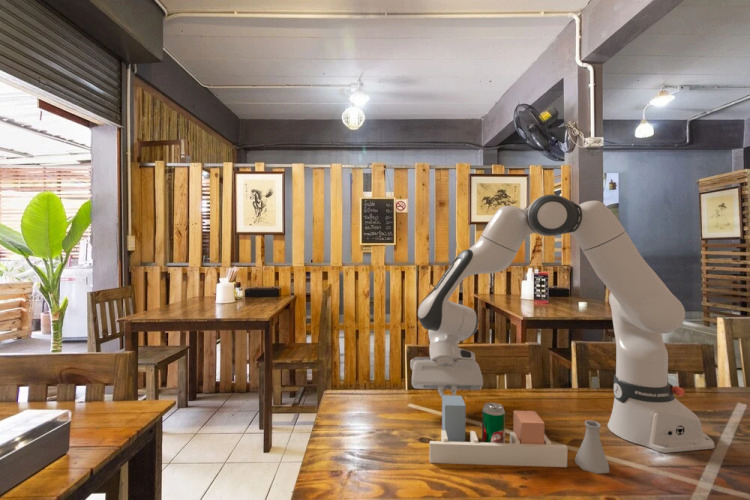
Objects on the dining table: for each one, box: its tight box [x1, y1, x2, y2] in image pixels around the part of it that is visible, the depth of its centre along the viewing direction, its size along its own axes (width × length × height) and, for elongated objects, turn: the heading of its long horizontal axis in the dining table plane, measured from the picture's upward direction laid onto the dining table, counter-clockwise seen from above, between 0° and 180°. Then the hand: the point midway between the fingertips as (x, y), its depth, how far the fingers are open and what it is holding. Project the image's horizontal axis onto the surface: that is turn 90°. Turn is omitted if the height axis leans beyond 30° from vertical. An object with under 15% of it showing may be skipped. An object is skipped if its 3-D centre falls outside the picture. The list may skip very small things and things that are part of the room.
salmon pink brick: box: [512, 410, 545, 444], centre depth 90 cm, size 5×7×9 cm
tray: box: [429, 429, 568, 468], centre depth 94 cm, size 30×17×6 cm, turn 87°
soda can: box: [481, 402, 506, 443], centre depth 90 cm, size 5×5×12 cm
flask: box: [574, 419, 610, 475], centre depth 86 cm, size 7×7×10 cm
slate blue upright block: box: [441, 394, 467, 442], centre depth 99 cm, size 5×7×9 cm
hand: (448, 403), depth 107 cm, fingers closed
